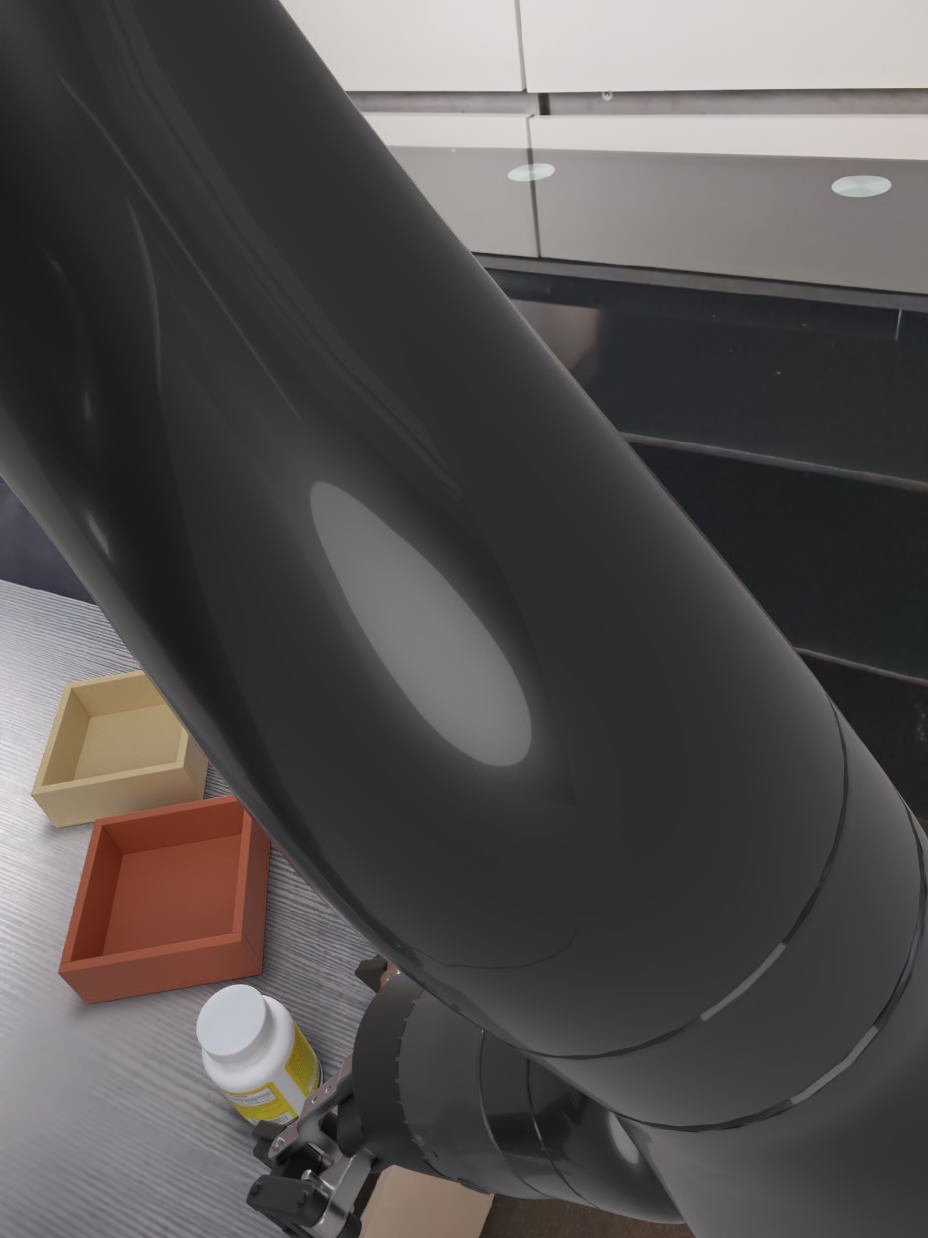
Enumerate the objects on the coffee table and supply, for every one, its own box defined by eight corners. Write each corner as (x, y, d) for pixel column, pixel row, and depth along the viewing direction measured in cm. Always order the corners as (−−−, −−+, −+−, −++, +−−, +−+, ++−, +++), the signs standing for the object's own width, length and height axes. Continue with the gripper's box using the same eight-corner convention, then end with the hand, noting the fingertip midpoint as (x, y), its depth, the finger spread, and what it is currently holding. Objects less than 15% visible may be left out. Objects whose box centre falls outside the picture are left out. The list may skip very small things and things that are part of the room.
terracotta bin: (261, 974, 63) (240, 941, 60) (87, 1004, 63) (57, 973, 60) (272, 825, 72) (254, 790, 69) (119, 853, 73) (94, 819, 70)
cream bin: (202, 802, 75) (183, 767, 72) (56, 828, 76) (30, 795, 72) (218, 693, 84) (201, 658, 81) (87, 717, 85) (65, 683, 82)
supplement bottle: (291, 1026, 60) (244, 953, 54) (341, 1084, 57) (298, 1014, 50) (223, 1091, 58) (165, 1022, 51) (271, 1155, 54) (217, 1091, 48)
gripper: (512, 840, 36) (347, 889, 49) (299, 1210, 28) (167, 1153, 41) (643, 959, 37) (448, 977, 50) (477, 1349, 29) (294, 1251, 42)
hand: (323, 1055), depth 45 cm, fingers open, 8 cm apart
